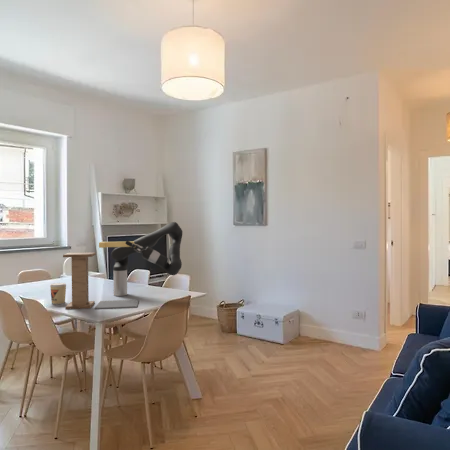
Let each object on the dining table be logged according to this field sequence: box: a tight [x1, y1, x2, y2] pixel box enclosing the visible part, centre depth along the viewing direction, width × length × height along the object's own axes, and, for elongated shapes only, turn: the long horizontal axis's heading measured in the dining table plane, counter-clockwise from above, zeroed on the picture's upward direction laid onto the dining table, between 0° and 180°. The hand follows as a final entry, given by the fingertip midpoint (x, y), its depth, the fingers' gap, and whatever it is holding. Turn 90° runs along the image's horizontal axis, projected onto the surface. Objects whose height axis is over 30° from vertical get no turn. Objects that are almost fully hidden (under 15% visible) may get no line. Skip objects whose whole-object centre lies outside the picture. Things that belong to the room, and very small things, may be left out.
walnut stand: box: [62, 251, 97, 310], centre depth 237 cm, size 14×16×32 cm
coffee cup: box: [49, 282, 67, 305], centre depth 247 cm, size 9×9×12 cm
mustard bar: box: [98, 240, 135, 249], centre depth 240 cm, size 10×20×3 cm, turn 99°
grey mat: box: [94, 299, 140, 310], centre depth 240 cm, size 20×24×1 cm
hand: (126, 241), depth 241 cm, fingers closed on mustard bar, 4 cm apart
